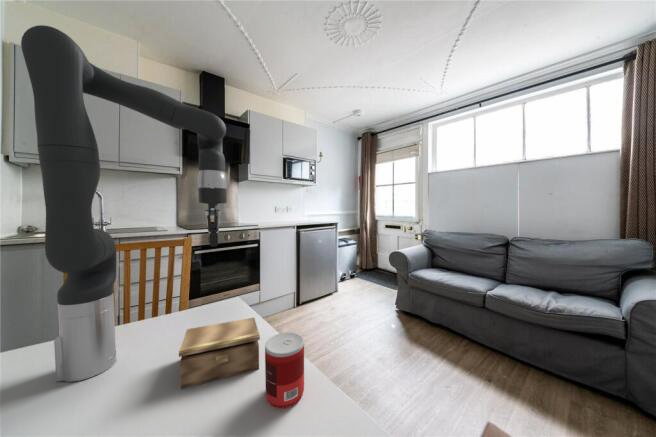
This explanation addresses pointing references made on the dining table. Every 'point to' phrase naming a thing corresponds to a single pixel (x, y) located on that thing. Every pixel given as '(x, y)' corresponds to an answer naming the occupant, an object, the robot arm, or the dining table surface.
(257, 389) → the dining table surface
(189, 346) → the lid
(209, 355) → the box
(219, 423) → the dining table surface
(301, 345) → the canned food
